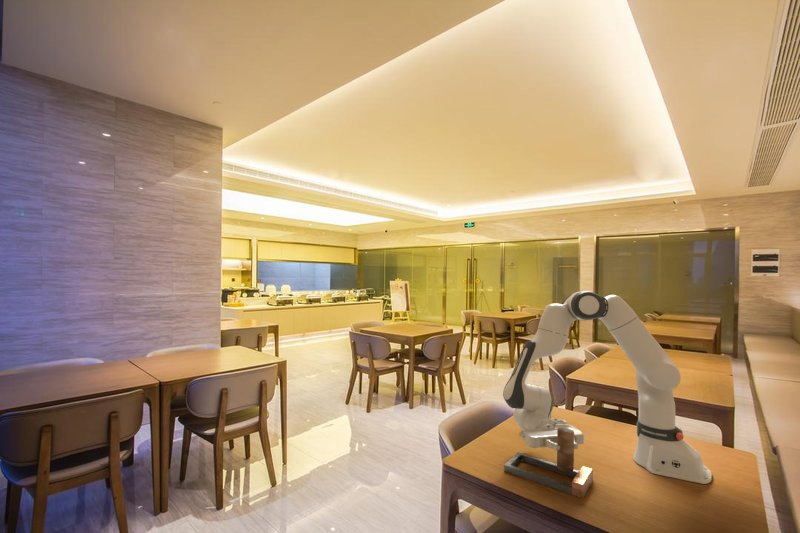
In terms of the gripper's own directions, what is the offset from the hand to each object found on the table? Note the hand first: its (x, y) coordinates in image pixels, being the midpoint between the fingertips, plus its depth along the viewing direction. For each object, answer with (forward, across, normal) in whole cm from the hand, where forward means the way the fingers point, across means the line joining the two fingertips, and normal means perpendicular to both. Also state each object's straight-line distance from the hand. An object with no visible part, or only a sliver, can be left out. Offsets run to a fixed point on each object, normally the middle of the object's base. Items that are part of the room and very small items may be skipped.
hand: (567, 447), depth 125 cm
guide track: (-5, -4, +12) cm, 13 cm away
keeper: (-1, 0, +7) cm, 7 cm away
